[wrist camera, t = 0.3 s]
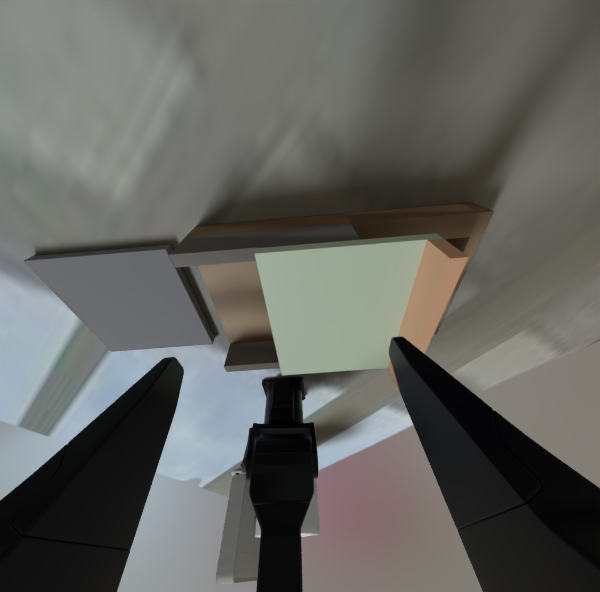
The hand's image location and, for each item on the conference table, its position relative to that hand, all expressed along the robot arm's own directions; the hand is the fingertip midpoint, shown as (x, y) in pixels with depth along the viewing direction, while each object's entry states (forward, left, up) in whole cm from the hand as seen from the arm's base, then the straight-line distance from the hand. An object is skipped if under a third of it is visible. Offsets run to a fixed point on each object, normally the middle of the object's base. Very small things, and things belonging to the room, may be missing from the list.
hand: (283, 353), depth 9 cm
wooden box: (-6, -4, -13) cm, 15 cm away
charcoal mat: (-7, +17, -13) cm, 23 cm away
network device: (-78, +20, -14) cm, 82 cm away
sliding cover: (-6, -4, -8) cm, 11 cm away
